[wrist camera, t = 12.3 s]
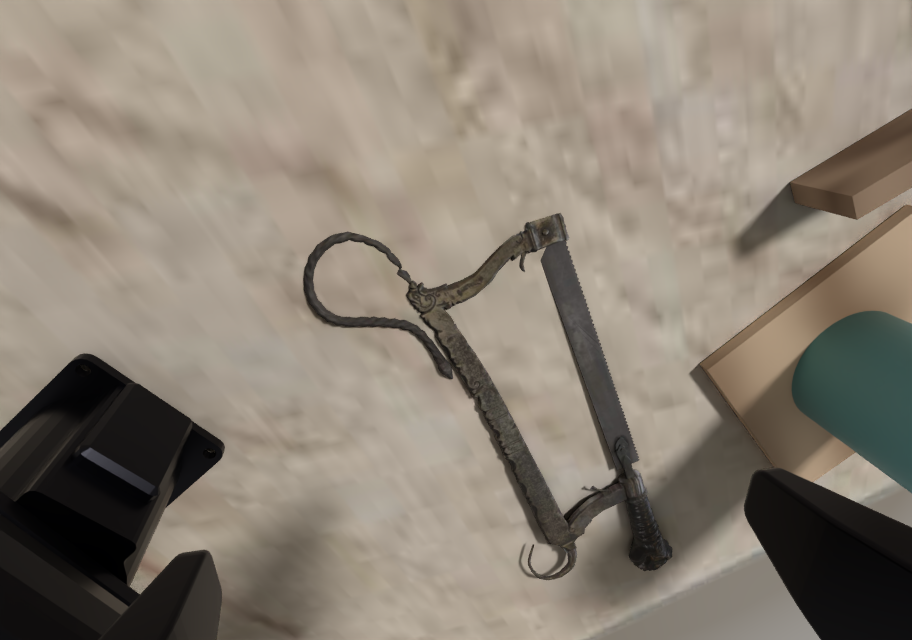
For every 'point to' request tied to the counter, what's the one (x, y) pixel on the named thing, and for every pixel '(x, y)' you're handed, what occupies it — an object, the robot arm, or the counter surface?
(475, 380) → the hacksaw
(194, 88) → the counter surface
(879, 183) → the cubby
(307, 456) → the counter surface
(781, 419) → the mat
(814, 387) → the tin
